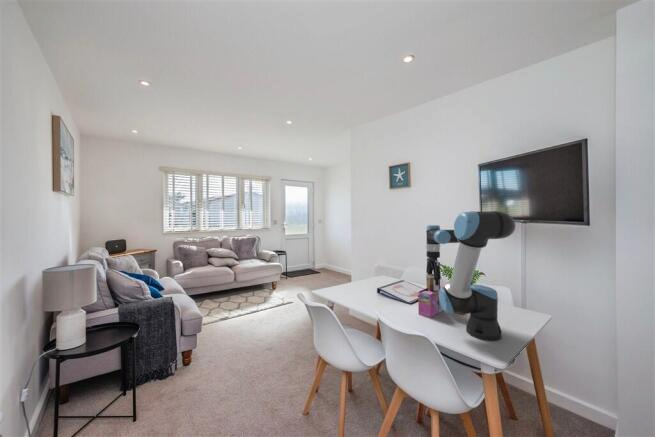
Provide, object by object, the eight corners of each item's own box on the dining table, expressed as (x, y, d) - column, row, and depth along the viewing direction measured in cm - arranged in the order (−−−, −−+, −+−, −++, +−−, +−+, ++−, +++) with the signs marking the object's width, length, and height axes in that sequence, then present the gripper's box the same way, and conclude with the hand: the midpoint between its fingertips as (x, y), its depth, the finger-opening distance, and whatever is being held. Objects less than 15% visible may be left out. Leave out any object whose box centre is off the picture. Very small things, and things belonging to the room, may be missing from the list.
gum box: (436, 304, 174) (436, 283, 173) (448, 307, 168) (448, 285, 167) (418, 314, 157) (417, 291, 157) (431, 318, 151) (430, 294, 151)
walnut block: (440, 289, 159) (440, 276, 159) (430, 290, 159) (429, 276, 159) (436, 286, 165) (436, 274, 165) (426, 287, 165) (426, 274, 165)
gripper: (447, 253, 150) (447, 293, 151) (432, 248, 172) (432, 282, 172) (433, 253, 150) (434, 293, 151) (420, 248, 172) (420, 283, 173)
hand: (433, 287), depth 162 cm, fingers open, 9 cm apart
